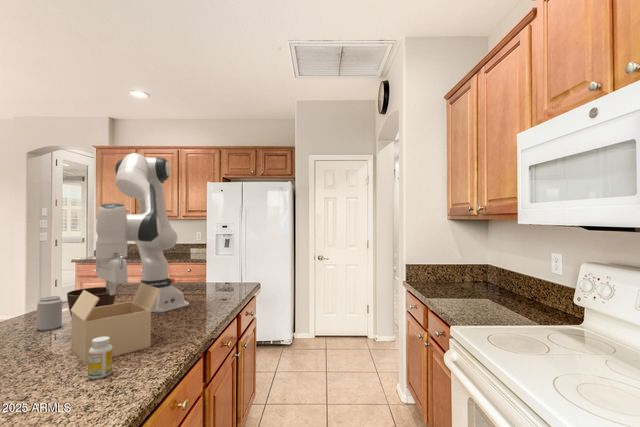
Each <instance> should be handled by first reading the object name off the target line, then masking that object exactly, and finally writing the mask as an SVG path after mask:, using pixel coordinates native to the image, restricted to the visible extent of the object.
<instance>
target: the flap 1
mask: <svg viewBox="0 0 640 427" xmlns="http://www.w3.org/2000/svg"><path fill="white" fill-rule="evenodd" d="M99 299H100V298H98V297H96V296H94V295H93V294H91V293H89V292H87V291H85V290H83V292H82V293H81V295H80V296H79V298H78V299H77V301H76V302H75V304H74V306H73V307H72V309H71V311H72V312H73V313H75V314H76V315H77V316H78V317H80V318H81V319H82V320H83V321H86V320H87V318H88V317H89V315H90V313H91V312H92V310H93V309H94V307H95V305H96V304H97V302H98V300H99Z"/></svg>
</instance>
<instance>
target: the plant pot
mask: <svg viewBox="0 0 640 427" xmlns="http://www.w3.org/2000/svg"><path fill="white" fill-rule="evenodd" d="M83 290H85V291H87V292H89V293H91V294H93V295H94V296H96V297H98V298H100V299H99V300H98V302H97V304H96V305H95V307H100V306H106V305H113V304H115V299H116V294H115V295H109V294H107V288H106V286H97V287H96V286H95V287H85V288H79V289H74V290H70V291H68V292H67V293H66V298H67V303H68V304H67V306H68V310H69V314H70V318H71V319H72V311H71V309H72V307H73V306H74V304H75V302H76V301H77V299H78V298H79V296H80V295H81V293H82V292H83Z"/></svg>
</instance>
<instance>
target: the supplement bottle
mask: <svg viewBox="0 0 640 427" xmlns="http://www.w3.org/2000/svg"><path fill="white" fill-rule="evenodd" d="M109 342H110V337H106V336H104V337H98V338H95V339H93V340H92V346H93V347H92V348H90V350H89V358H88V363H87V364H88V365H87V366H88V367H87V377H88V378H89V379H91V380H98V379H102V378H103V379H104V378H105V377H107V376H109V375H111V373H112V369H113V368H112V367H113V357H112V346H111V345H110V344H109Z"/></svg>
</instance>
